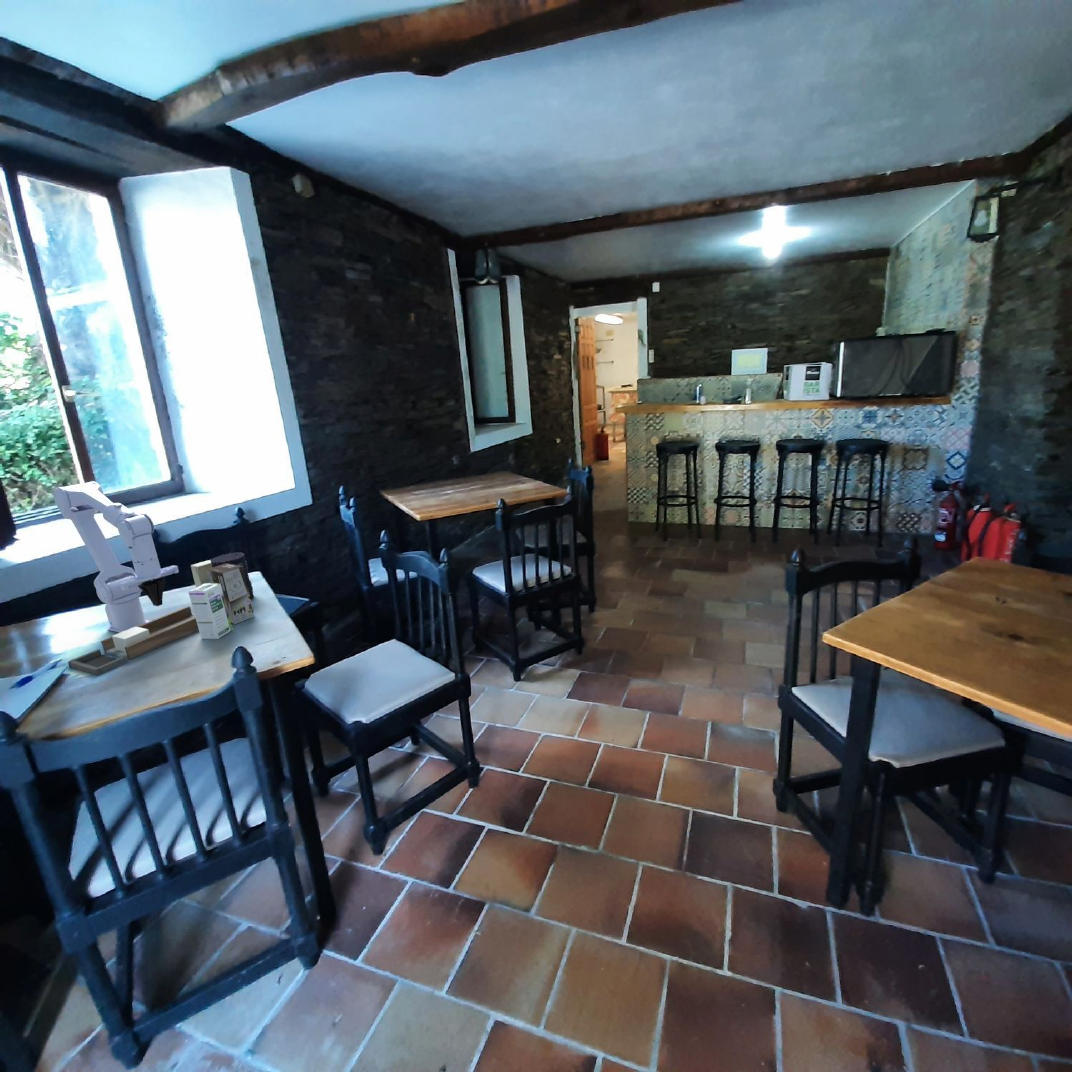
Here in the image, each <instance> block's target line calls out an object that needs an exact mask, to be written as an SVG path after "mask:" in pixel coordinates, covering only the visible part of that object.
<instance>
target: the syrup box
mask: <svg viewBox="0 0 1072 1072" xmlns="http://www.w3.org/2000/svg"><path fill="white" fill-rule="evenodd" d="M187 593H188V596H189V599H190V604H191V608H192V610H193V615H195V618H196V621H197V625H198V628H199V629H198V632H199V635H200V638H201V639H202V640H203V639H204V640H219V639H221V638H222V637H223V636H225V635H227V634H228V633H230V632H231V631H232V632H233V630H234V629H233V626H232V623H231V621H230V618H229V614H228V610H227V606H226V603H225V599H224V595H223V591H222V587H221V584H218V583H207V584H203V585H201V586H199V587H197V588H196V587H195V588H193V589H191V590H189V591H187Z"/></svg>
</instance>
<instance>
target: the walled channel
mask: <svg viewBox="0 0 1072 1072" xmlns="http://www.w3.org/2000/svg"><path fill="white" fill-rule="evenodd" d="M191 608H192V607H191V606H190V605H187V606H185V607H183V608H180V609H178V610H175V611H173V612H170V613H168V614H165V615H163V616H160V617H158V618H155V619H151V620H149V621H150V622H147V623H145V624H142V625H140V626H137V627H140V628H144V629H148V630H149V633H150V637H147V638H145V639H143V640H140V641H138V642H136V643H133V644H131V645H128V646H126V647H125V650H126V652H124V651H120V650H116V648H115V645H114V641H113V638H112V636H111V637H108V638H105V639H103V640H101V641H100V643H101V646H102V649H103V652H104V654H108V655H111V656H115V657H118V658H121V657H123V656H125V657H126V659H127V660H129V661H131V660H134V659H136V658H137V657H140V656H142V655H144V654H146V653H149V652H151V651H154V650H155V649H158V648H160V647H162V646H165V645H167V644H169V643H171V642H174V641H175V640H178V639H180V638H182V637H184V636H185V637H186V636H187V635H189V634H191V633H193V632H196V631H199V628H198V625H197V621H196V618H195V614H193V613H192V609H191Z"/></svg>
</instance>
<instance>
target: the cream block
mask: <svg viewBox="0 0 1072 1072" xmlns="http://www.w3.org/2000/svg"><path fill="white" fill-rule="evenodd" d="M111 637H112V638H113V641H114V645H115V648H116V650H120V651H124V652H126V650H125V647H126V646H128V645H131V644H133V643H136V642H138V641H140V640H143V639H145V638H147V637H150V633H149V630H148V629H144V628H140V627H133V628H131V629H128V630H126V631H123V632H121V633H119V632H117V633H116V634H113V635H111Z"/></svg>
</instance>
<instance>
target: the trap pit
mask: <svg viewBox="0 0 1072 1072" xmlns="http://www.w3.org/2000/svg"><path fill="white" fill-rule="evenodd" d="M125 663H128V659H126V657H125V656H123V657H118V658H115V657H111V656H108V655H104V654H102V652H101V650H100V649H99V648H98V649H95V650H93V651H90V652H88V653H85V654H84V655H83V654H82V655H81V656H79V657H76V658H74V659H70V660H69V661H67V665H68V666H69V668H71V669H75V670H78V671H81V672H85V673H88V674H91V675H94V676H100V675H102V674H105V673H106V672H108V671H111V670H113V669H115V668H118V667H119V666H122V665H124V664H125Z"/></svg>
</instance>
